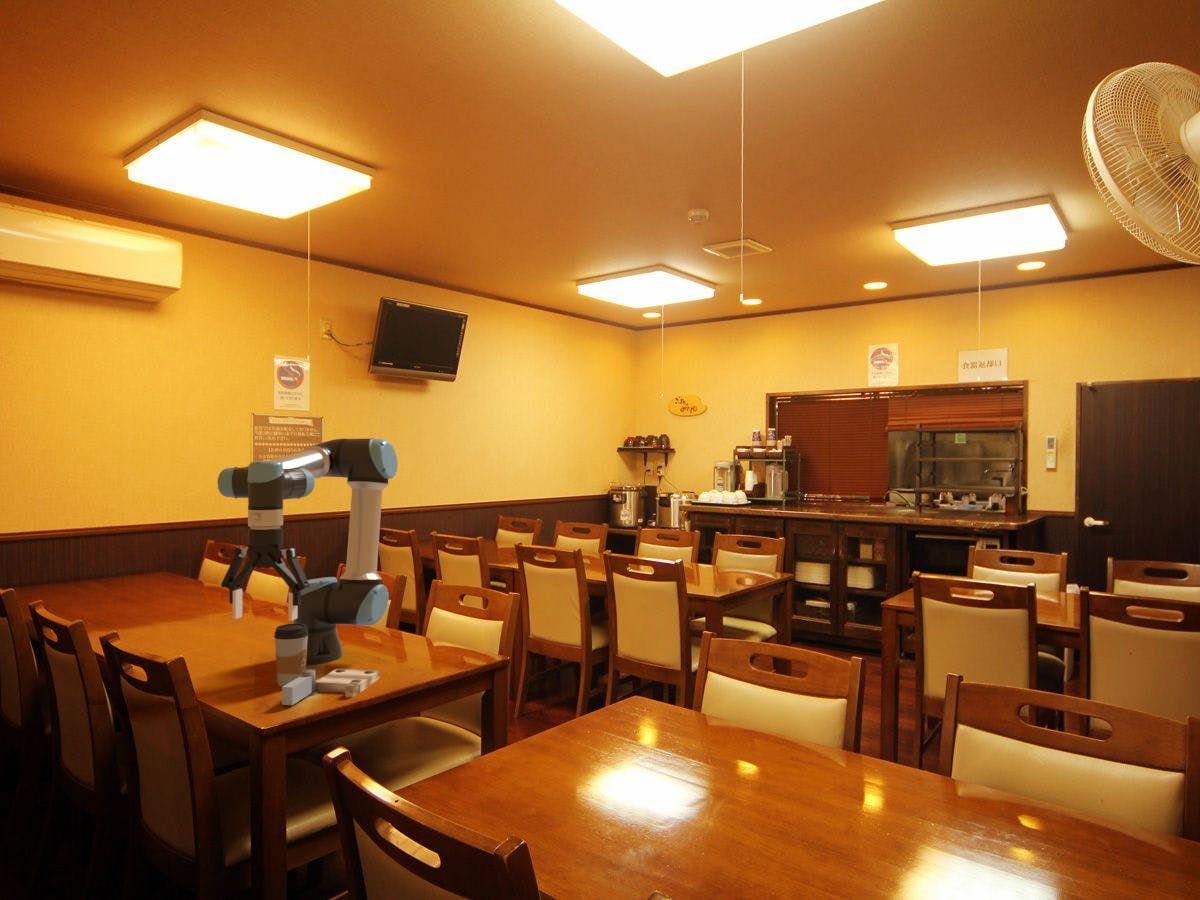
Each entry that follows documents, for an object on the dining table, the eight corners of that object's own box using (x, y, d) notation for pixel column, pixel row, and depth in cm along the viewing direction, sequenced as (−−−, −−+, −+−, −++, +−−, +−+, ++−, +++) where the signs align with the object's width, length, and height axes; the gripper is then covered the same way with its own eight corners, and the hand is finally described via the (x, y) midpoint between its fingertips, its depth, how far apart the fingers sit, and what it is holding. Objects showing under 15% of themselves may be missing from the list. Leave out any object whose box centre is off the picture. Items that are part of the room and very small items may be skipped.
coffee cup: (295, 690, 190) (296, 631, 190) (266, 688, 192) (267, 629, 192) (314, 680, 198) (315, 623, 198) (286, 678, 200) (286, 622, 200)
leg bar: (305, 689, 189) (305, 669, 189) (317, 689, 189) (317, 669, 189) (280, 704, 177) (280, 683, 177) (293, 705, 177) (293, 684, 177)
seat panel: (327, 677, 201) (327, 665, 201) (379, 679, 200) (379, 667, 200) (295, 697, 185) (295, 684, 185) (352, 700, 184) (352, 686, 184)
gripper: (204, 528, 172) (204, 620, 173) (308, 530, 170) (308, 624, 170) (224, 524, 180) (224, 613, 180) (324, 526, 177) (324, 616, 177)
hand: (265, 618), depth 175 cm, fingers open, 13 cm apart
